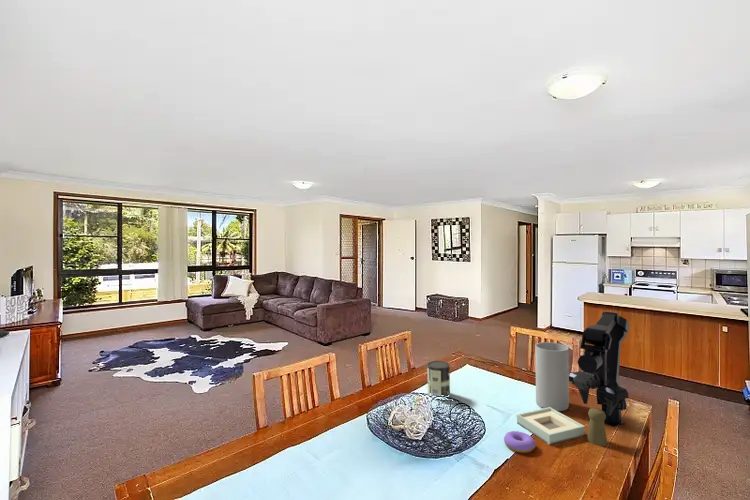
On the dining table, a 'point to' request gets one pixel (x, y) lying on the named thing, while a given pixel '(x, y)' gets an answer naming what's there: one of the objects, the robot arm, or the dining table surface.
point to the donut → (519, 441)
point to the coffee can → (438, 378)
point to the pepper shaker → (597, 427)
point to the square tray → (550, 425)
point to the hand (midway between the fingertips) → (596, 409)
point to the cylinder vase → (552, 376)
